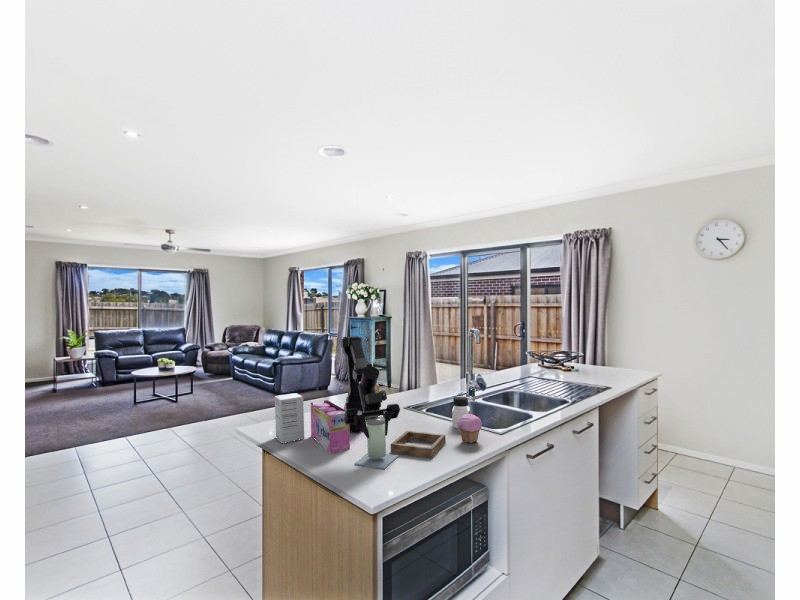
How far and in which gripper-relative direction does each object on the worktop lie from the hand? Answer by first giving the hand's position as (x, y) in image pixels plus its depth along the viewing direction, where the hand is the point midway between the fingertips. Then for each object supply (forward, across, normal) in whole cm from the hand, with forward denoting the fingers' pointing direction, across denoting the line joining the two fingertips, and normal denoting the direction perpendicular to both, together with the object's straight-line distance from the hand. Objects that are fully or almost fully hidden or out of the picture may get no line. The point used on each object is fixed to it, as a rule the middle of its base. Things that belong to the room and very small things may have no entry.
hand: (377, 436), depth 132 cm
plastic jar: (+4, 0, +6) cm, 7 cm away
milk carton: (-32, +8, +45) cm, 56 cm away
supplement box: (-20, -26, +32) cm, 46 cm away
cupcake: (+2, +37, +10) cm, 39 cm away
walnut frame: (+1, +17, +11) cm, 21 cm away
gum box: (-12, -12, +25) cm, 30 cm away
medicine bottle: (-11, +43, +24) cm, 50 cm away
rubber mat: (+5, 0, +7) cm, 9 cm away
